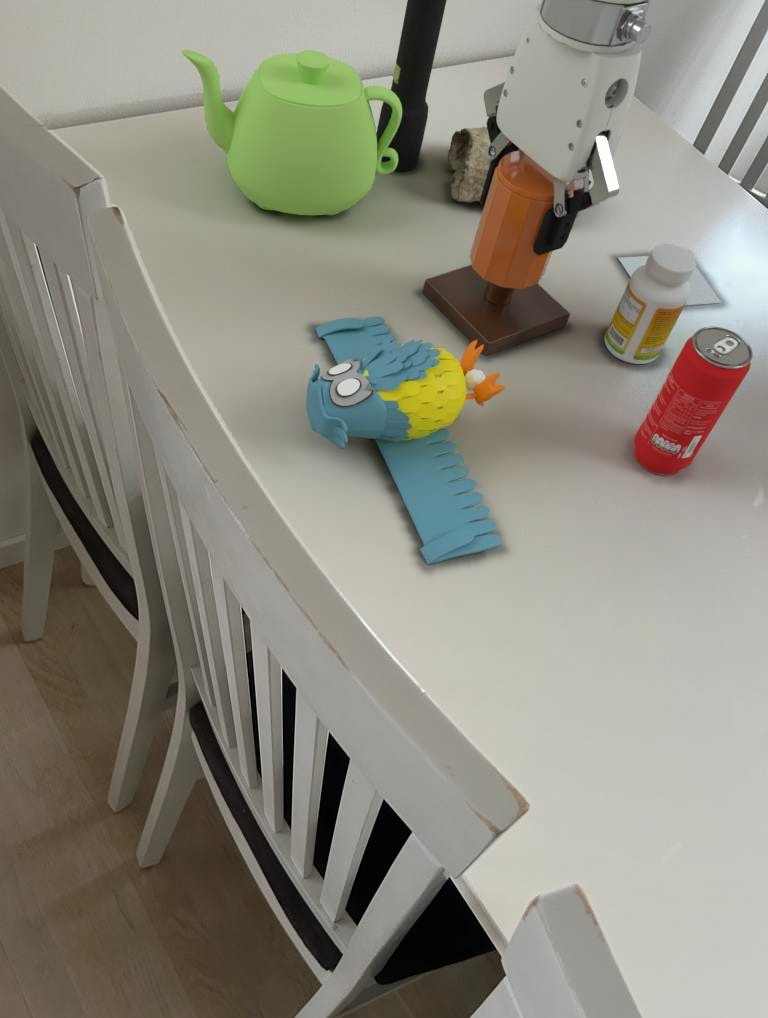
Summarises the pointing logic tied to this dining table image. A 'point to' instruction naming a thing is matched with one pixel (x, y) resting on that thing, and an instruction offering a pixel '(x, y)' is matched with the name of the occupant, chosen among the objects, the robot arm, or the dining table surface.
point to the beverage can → (692, 399)
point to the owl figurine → (407, 424)
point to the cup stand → (494, 309)
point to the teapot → (301, 132)
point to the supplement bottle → (651, 305)
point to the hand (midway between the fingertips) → (520, 224)
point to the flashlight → (413, 79)
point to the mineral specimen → (469, 163)
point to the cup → (514, 223)
